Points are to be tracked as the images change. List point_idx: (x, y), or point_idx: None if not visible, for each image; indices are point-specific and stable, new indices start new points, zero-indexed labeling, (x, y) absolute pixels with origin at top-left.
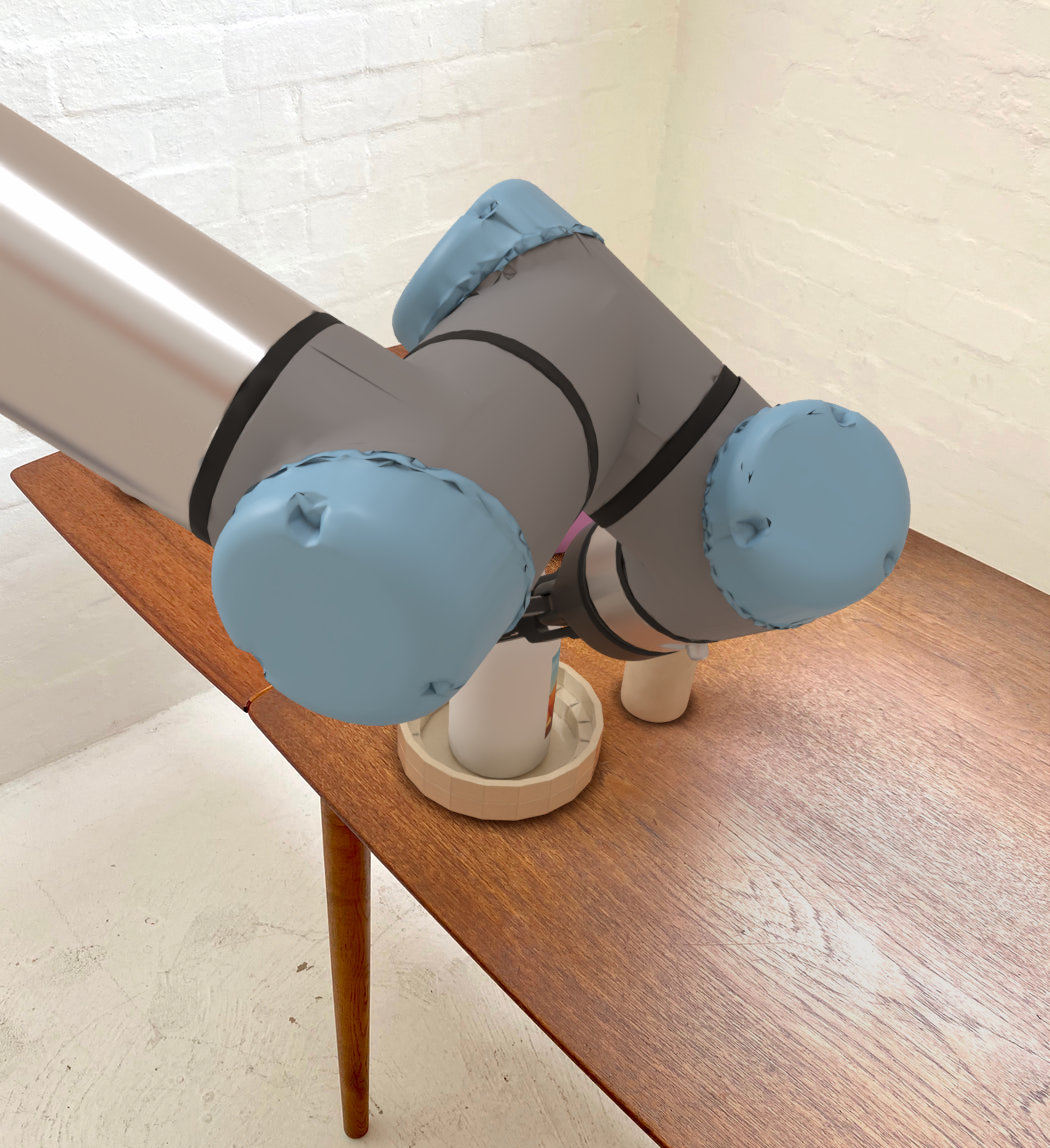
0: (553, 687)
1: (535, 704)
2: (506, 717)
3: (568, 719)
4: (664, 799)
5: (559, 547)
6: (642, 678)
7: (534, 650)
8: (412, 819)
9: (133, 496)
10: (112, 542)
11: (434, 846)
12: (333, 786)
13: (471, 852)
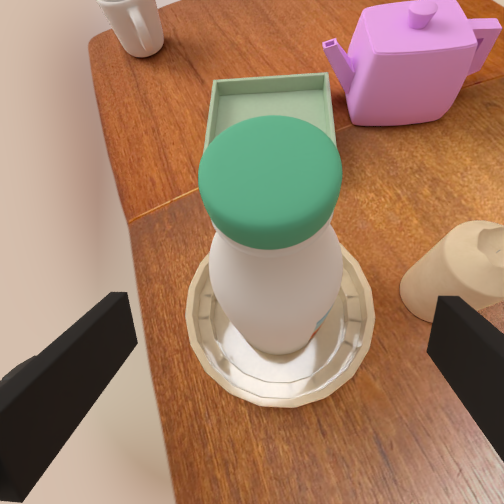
0: (319, 326)
1: (292, 343)
2: (261, 344)
3: (343, 303)
4: (409, 419)
5: (391, 121)
6: (427, 296)
7: (287, 328)
8: (187, 368)
9: (130, 54)
10: (108, 86)
11: (192, 404)
12: (146, 316)
13: (217, 422)
